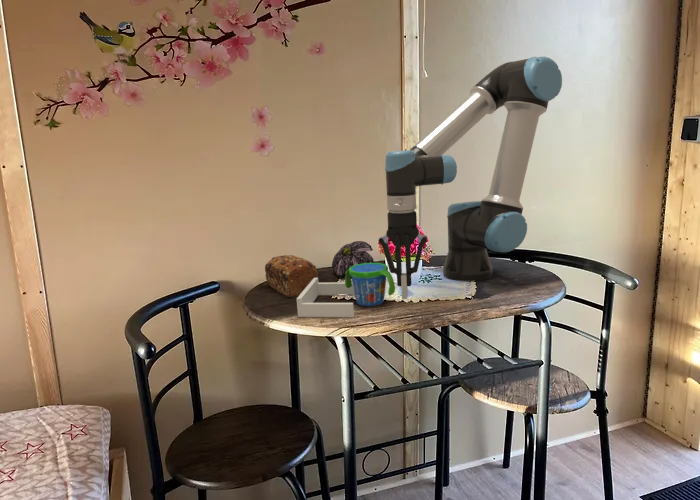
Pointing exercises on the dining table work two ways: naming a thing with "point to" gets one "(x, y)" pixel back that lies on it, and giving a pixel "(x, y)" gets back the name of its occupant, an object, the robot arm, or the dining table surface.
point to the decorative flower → (351, 257)
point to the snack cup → (369, 282)
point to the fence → (324, 309)
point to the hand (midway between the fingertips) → (404, 297)
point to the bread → (289, 274)
